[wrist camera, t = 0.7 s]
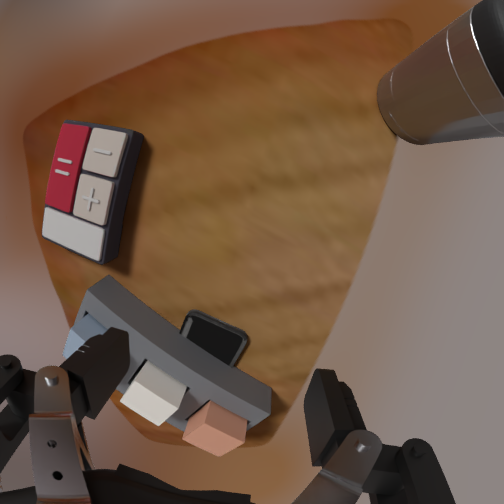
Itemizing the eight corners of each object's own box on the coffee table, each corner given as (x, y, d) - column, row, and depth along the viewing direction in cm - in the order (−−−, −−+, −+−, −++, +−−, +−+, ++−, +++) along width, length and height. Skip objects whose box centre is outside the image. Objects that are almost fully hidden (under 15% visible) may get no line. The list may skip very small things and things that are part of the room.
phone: (158, 386, 35) (188, 309, 31) (161, 381, 36) (191, 304, 32) (208, 408, 35) (250, 337, 31) (209, 402, 36) (251, 332, 32)
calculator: (131, 128, 23) (100, 268, 26) (148, 135, 27) (118, 258, 31) (60, 118, 23) (37, 238, 26) (80, 123, 27) (57, 232, 30)
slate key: (88, 312, 28) (70, 328, 24) (124, 342, 28) (109, 361, 24) (78, 339, 29) (62, 355, 25) (110, 366, 30) (97, 384, 26)
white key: (147, 360, 29) (135, 380, 25) (187, 386, 29) (178, 408, 25) (131, 382, 30) (119, 401, 26) (167, 405, 31) (158, 426, 27)
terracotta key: (210, 400, 30) (204, 423, 26) (247, 419, 30) (244, 442, 26) (189, 418, 31) (182, 439, 27) (223, 435, 32) (219, 456, 28)
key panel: (109, 274, 31) (87, 289, 26) (271, 388, 34) (270, 414, 29) (84, 331, 34) (66, 348, 29) (222, 424, 37) (217, 448, 32)
